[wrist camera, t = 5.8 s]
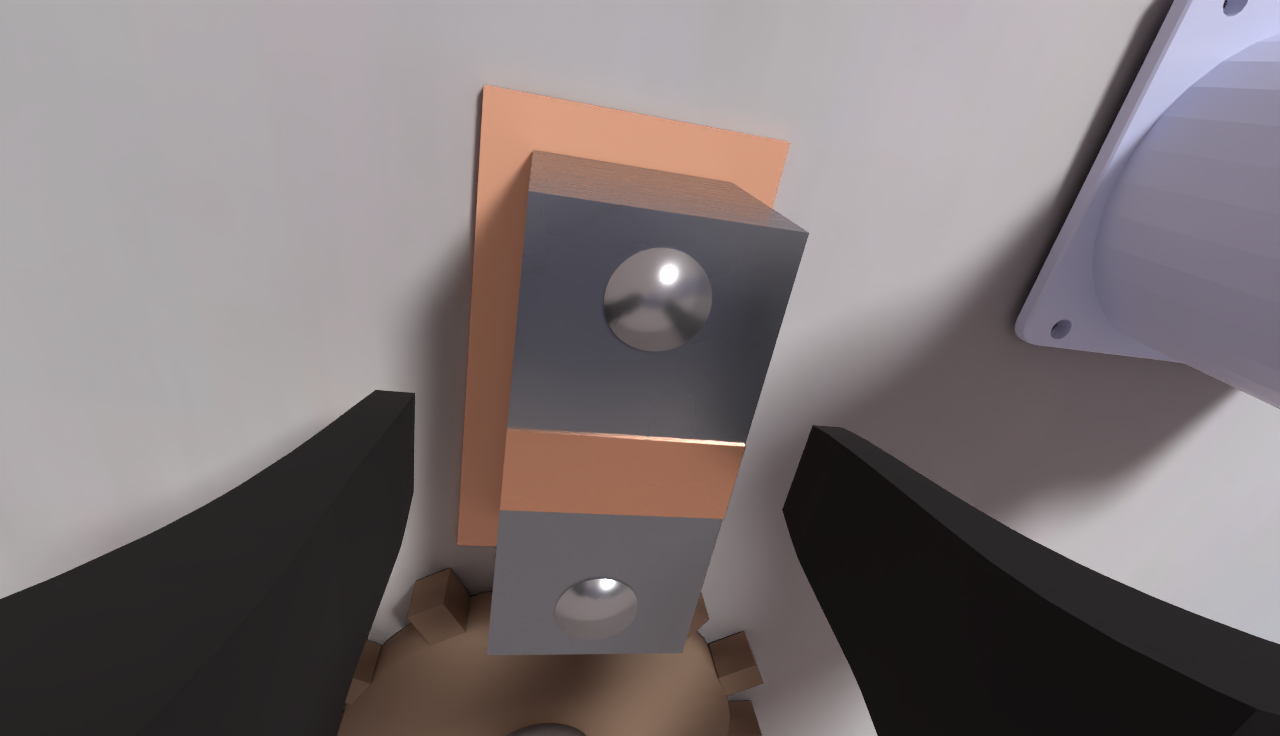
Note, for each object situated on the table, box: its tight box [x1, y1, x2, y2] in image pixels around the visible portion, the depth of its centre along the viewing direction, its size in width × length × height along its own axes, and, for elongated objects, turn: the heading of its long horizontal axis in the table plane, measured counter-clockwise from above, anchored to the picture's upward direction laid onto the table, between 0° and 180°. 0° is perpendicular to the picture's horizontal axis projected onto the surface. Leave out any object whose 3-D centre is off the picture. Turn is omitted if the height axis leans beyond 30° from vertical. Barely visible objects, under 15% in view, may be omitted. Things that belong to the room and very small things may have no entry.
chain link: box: [487, 150, 809, 655], centre depth 12 cm, size 4×9×4 cm, turn 170°
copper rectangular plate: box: [457, 85, 790, 547], centre depth 14 cm, size 6×11×1 cm, turn 170°
